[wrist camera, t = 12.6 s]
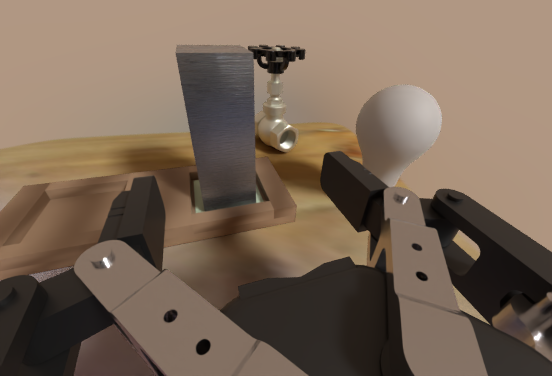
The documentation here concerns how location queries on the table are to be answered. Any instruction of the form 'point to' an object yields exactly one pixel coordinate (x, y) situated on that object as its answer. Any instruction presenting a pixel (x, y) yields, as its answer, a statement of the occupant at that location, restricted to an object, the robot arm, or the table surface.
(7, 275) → the tray
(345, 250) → the table surface
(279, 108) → the valve
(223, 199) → the metal block
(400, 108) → the lightbulb
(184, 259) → the table surface
